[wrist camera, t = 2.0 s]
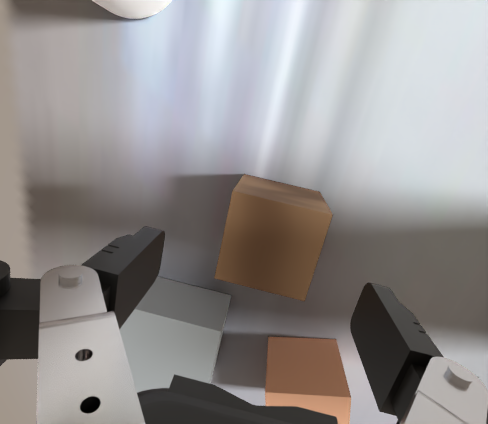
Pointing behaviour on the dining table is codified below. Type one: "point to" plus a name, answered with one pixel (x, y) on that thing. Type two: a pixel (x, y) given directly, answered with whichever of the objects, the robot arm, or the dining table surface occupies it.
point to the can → (133, 7)
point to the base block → (174, 334)
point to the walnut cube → (273, 237)
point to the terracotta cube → (307, 376)
